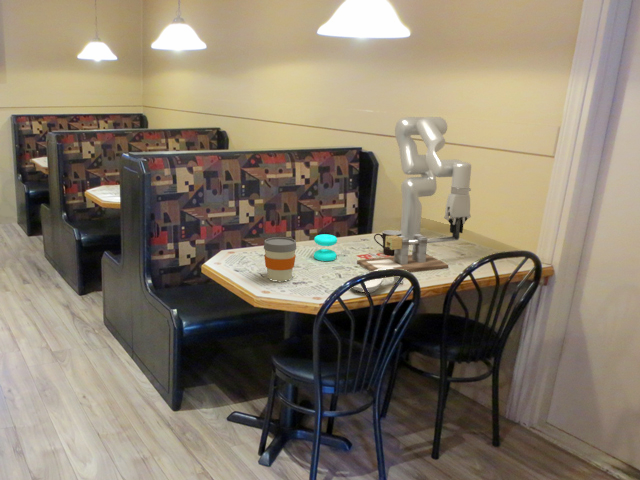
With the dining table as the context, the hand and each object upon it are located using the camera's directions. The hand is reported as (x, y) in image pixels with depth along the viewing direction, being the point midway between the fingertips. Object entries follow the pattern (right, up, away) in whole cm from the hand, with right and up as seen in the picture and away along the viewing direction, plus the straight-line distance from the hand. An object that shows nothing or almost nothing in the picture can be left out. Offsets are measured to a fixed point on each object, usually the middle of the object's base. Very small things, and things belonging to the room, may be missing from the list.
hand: (456, 232), depth 257 cm
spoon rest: (-38, -22, -35) cm, 56 cm away
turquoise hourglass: (-57, -12, 0) cm, 59 cm away
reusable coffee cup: (-75, -19, -28) cm, 82 cm away
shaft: (-13, -5, -5) cm, 15 cm away
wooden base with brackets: (-25, -14, -7) cm, 29 cm away
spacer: (-29, -7, -11) cm, 32 cm away
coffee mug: (-29, -10, +11) cm, 32 cm away
